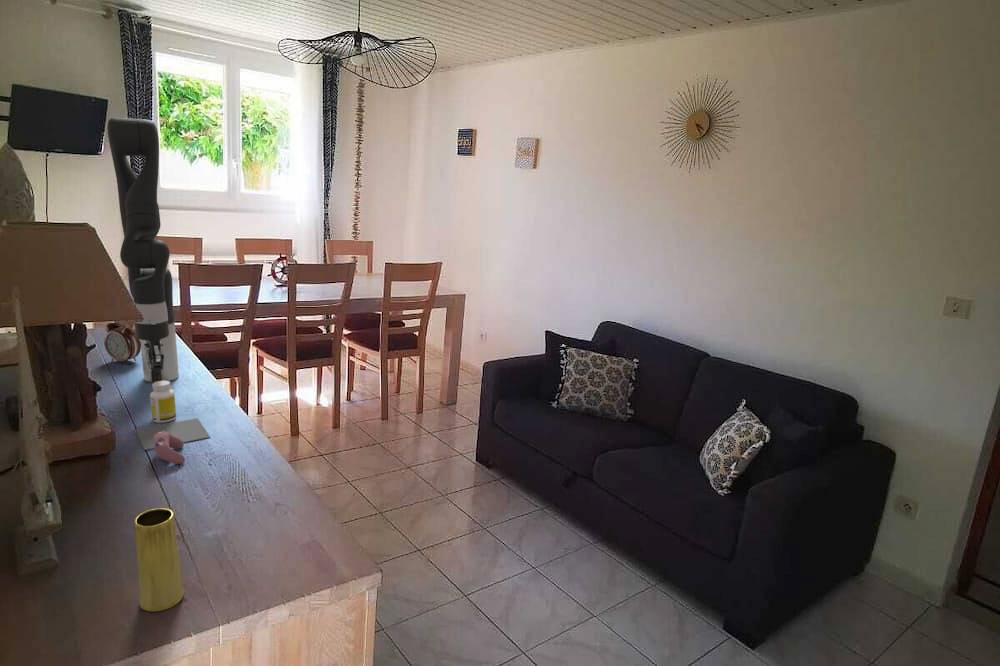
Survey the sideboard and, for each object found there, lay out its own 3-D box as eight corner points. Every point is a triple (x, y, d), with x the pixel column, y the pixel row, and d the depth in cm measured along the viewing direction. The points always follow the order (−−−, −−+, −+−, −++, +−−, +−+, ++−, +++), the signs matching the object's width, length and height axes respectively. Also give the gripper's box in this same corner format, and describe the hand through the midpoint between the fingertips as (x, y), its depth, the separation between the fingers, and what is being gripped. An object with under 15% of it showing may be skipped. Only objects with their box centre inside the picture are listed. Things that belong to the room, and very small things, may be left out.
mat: (135, 430, 153) (135, 429, 153) (197, 419, 161) (197, 418, 161) (144, 450, 143) (144, 449, 143) (210, 437, 151) (210, 436, 151)
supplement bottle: (180, 416, 162) (177, 380, 160) (167, 424, 157) (164, 387, 155) (160, 414, 163) (157, 378, 160) (147, 422, 158) (144, 385, 155)
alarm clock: (104, 361, 199) (99, 315, 195) (117, 357, 204) (113, 312, 200) (131, 366, 196) (127, 320, 192) (144, 362, 201) (140, 316, 197)
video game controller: (166, 454, 145) (148, 431, 142) (185, 444, 146) (168, 421, 143) (166, 473, 137) (147, 450, 134) (187, 462, 138) (168, 438, 135)
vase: (142, 617, 93) (133, 533, 89) (136, 594, 97) (128, 513, 94) (187, 603, 96) (180, 521, 92) (180, 581, 101) (173, 502, 97)
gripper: (130, 314, 161) (136, 378, 166) (138, 326, 151) (144, 393, 156) (162, 312, 166) (167, 374, 170) (172, 323, 156) (178, 389, 160)
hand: (156, 383), depth 163 cm, fingers closed
